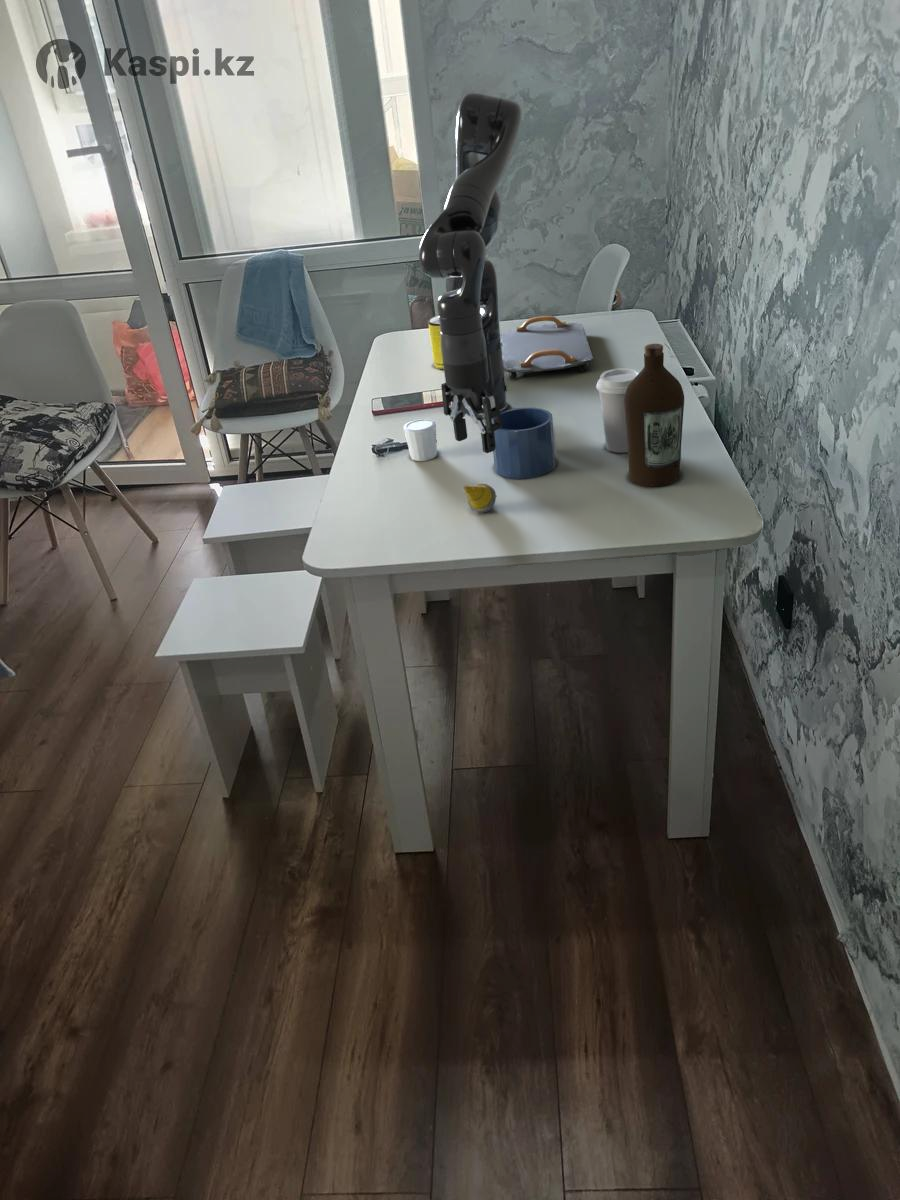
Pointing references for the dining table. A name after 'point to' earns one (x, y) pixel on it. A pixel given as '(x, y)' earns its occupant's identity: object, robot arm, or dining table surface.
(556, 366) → the serving tray
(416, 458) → the white cylinder
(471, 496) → the drill bit
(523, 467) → the cup
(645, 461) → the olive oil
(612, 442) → the coffee cup
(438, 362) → the yellow can
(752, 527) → the dining table surface
